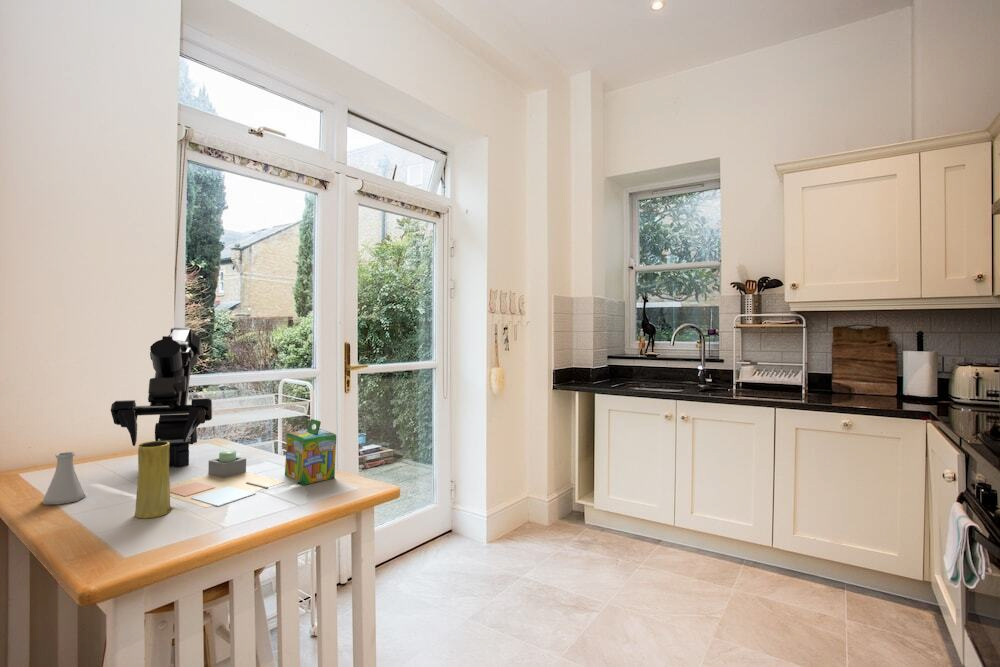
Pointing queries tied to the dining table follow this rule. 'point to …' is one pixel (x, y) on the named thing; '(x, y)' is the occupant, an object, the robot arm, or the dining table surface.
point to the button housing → (227, 467)
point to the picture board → (220, 488)
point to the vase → (153, 480)
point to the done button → (227, 456)
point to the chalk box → (310, 454)
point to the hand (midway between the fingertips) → (159, 443)
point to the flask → (64, 482)
